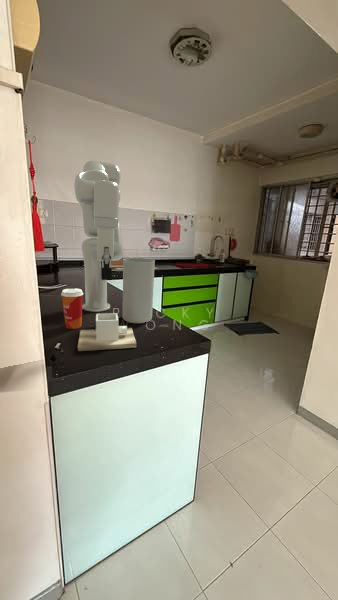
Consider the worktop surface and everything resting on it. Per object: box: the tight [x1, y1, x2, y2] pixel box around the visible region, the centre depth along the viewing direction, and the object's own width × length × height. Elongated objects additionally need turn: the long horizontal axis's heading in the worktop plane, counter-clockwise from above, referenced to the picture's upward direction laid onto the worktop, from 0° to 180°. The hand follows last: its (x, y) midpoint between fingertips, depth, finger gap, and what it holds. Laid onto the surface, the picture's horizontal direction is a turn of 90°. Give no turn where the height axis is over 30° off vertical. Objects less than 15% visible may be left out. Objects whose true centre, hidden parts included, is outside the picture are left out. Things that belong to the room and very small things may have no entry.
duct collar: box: [95, 312, 128, 341], centre depth 85 cm, size 7×10×7 cm
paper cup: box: [60, 287, 84, 330], centre depth 94 cm, size 8×8×14 cm
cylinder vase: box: [122, 257, 156, 324], centre depth 105 cm, size 12×12×25 cm
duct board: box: [77, 327, 137, 352], centre depth 86 cm, size 13×18×2 cm
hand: (106, 276), depth 86 cm, fingers open, 9 cm apart
